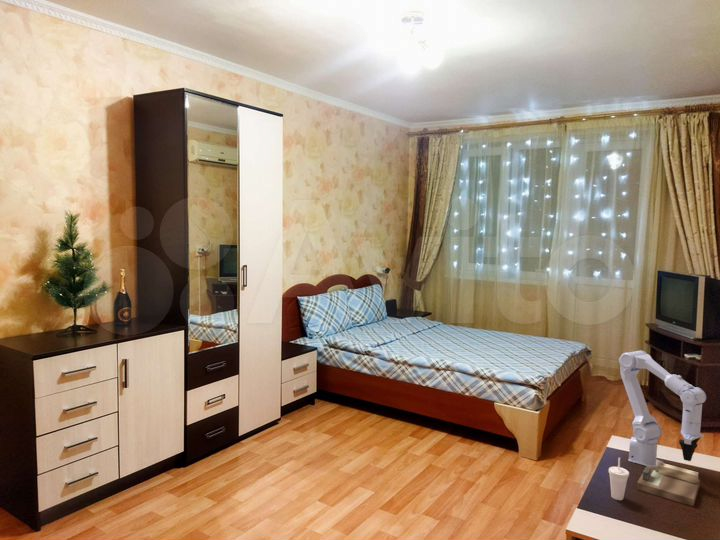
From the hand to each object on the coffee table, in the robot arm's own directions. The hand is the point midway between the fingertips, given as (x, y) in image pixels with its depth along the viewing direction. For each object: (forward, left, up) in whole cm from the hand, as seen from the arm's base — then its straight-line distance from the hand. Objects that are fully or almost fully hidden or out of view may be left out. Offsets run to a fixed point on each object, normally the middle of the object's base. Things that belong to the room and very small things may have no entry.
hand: (688, 456), depth 188 cm
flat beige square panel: (-4, -10, -9) cm, 15 cm away
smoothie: (-17, -29, -10) cm, 35 cm away
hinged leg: (-3, -5, -7) cm, 9 cm away
